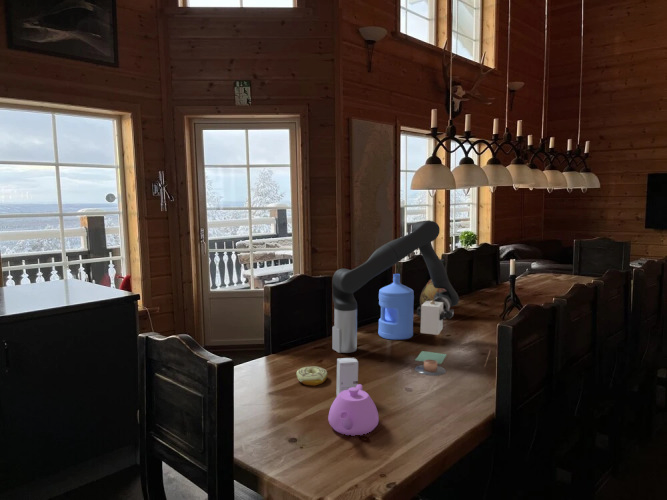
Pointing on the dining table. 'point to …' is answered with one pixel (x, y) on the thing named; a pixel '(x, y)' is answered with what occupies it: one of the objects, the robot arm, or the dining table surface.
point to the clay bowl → (430, 365)
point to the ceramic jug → (430, 290)
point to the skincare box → (346, 374)
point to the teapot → (353, 412)
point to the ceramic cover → (431, 317)
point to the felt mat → (431, 356)
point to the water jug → (396, 311)
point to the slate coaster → (439, 372)
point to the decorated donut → (311, 375)
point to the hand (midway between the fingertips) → (431, 316)
